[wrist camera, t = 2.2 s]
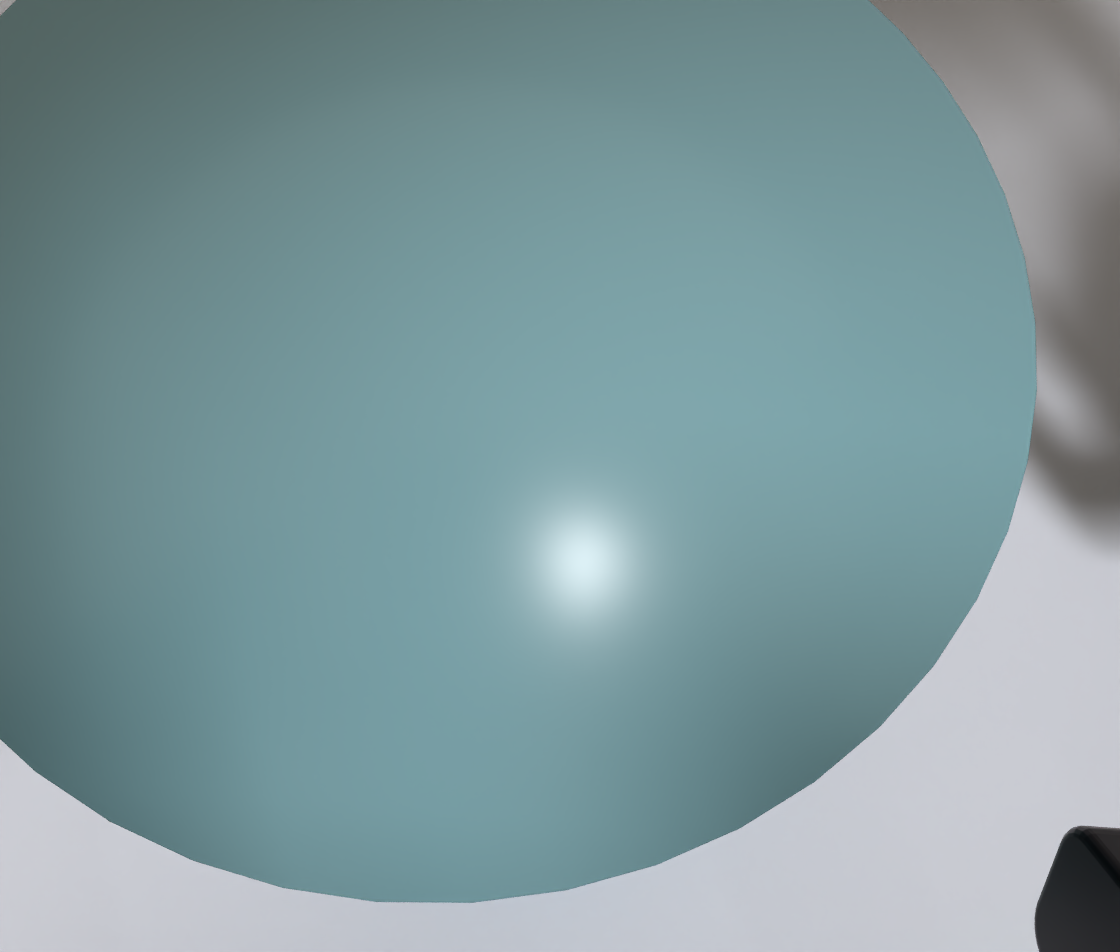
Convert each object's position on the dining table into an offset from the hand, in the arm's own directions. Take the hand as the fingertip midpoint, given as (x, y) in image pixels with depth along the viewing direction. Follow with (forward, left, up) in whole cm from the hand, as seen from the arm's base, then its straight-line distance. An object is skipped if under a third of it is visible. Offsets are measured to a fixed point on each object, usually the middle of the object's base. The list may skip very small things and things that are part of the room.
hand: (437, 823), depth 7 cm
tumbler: (+2, +2, -10) cm, 11 cm away
